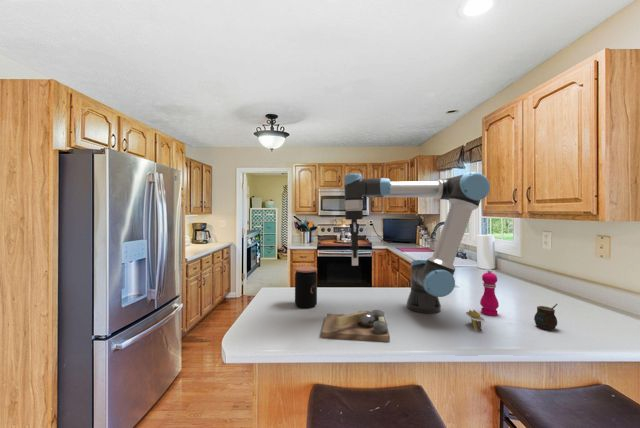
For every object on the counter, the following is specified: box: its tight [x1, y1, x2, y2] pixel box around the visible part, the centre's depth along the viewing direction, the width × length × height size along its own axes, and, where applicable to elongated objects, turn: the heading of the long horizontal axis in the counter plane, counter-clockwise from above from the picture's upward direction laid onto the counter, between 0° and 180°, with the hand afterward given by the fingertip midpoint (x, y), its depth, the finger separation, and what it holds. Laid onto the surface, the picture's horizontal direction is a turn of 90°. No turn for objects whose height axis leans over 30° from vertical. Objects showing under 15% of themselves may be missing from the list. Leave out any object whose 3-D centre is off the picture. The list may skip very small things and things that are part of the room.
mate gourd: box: [533, 303, 558, 331], centre depth 114 cm, size 7×8×10 cm
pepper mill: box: [480, 268, 499, 317], centre depth 129 cm, size 7×7×20 cm
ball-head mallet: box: [337, 310, 375, 327], centre depth 108 cm, size 16×7×5 cm, turn 120°
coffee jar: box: [294, 265, 318, 310], centre depth 139 cm, size 11×11×18 cm
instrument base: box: [321, 309, 391, 343], centre depth 111 cm, size 24×19×5 cm
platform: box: [465, 309, 486, 332], centre depth 114 cm, size 12×18×7 cm, turn 175°
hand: (355, 265), depth 123 cm, fingers closed
